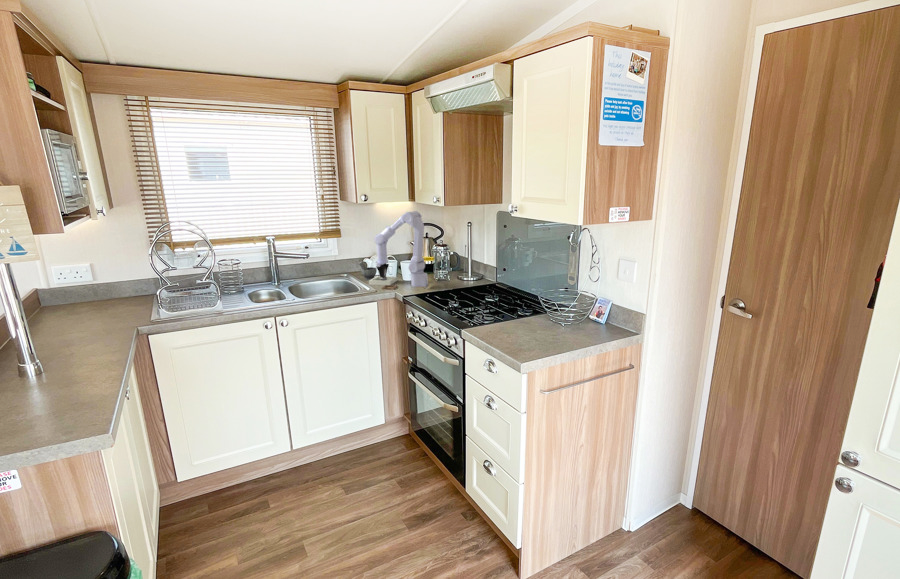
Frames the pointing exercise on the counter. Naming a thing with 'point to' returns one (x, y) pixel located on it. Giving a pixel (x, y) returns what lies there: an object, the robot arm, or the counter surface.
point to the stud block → (390, 287)
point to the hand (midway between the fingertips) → (383, 276)
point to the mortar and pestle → (368, 271)
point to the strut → (384, 276)
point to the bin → (375, 281)
